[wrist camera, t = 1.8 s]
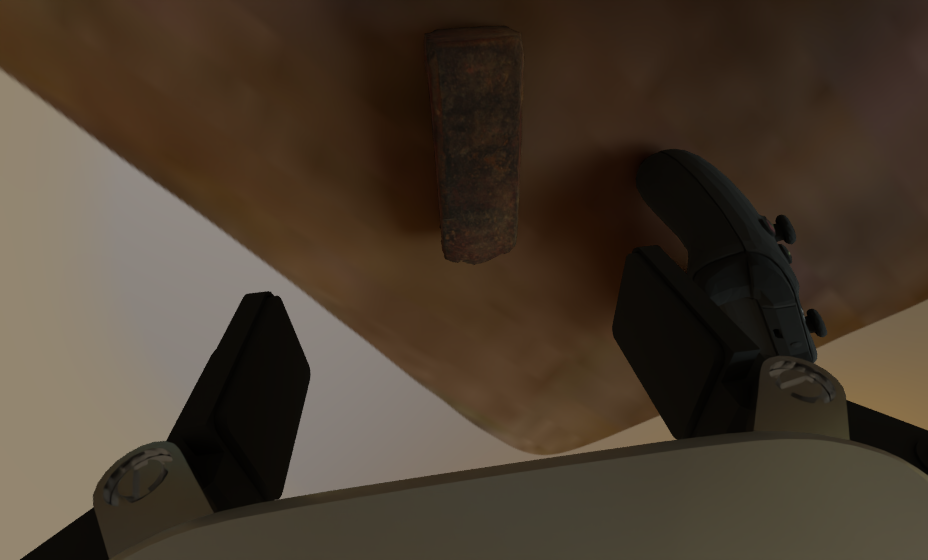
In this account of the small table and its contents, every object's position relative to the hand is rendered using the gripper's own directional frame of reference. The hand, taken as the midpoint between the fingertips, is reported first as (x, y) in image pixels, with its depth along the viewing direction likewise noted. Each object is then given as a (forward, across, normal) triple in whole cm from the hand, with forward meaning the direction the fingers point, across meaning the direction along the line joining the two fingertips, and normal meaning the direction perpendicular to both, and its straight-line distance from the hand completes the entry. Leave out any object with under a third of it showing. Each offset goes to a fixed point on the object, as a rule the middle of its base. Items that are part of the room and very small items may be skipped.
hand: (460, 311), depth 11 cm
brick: (+14, -2, 0) cm, 14 cm away
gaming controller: (+13, -16, +7) cm, 22 cm away
